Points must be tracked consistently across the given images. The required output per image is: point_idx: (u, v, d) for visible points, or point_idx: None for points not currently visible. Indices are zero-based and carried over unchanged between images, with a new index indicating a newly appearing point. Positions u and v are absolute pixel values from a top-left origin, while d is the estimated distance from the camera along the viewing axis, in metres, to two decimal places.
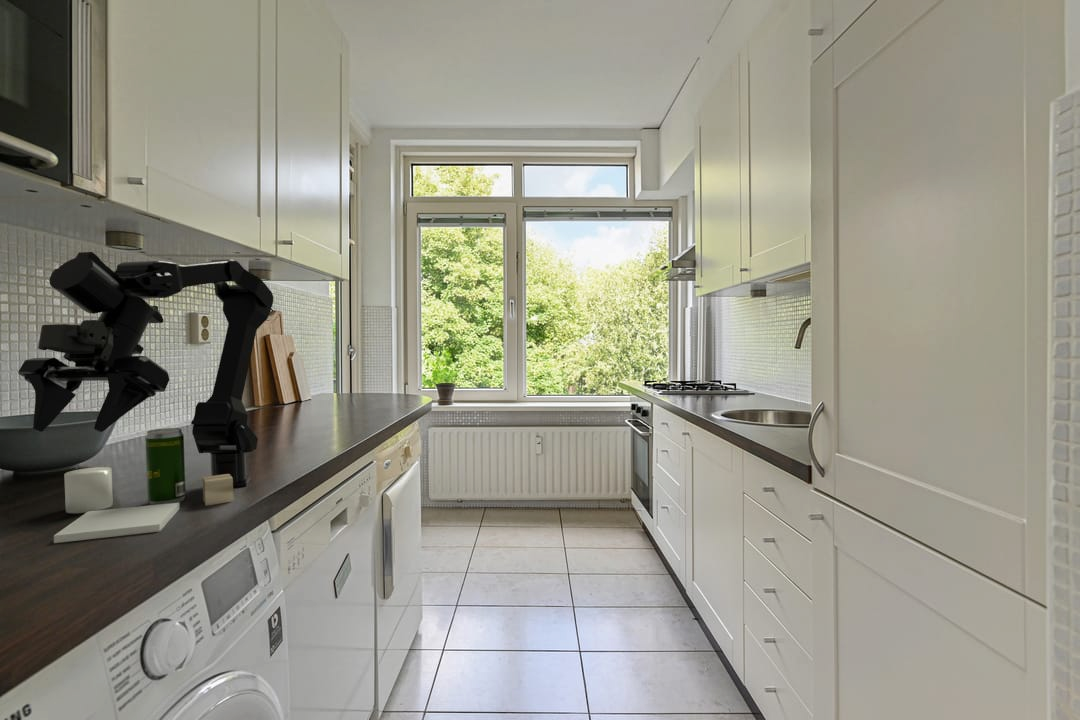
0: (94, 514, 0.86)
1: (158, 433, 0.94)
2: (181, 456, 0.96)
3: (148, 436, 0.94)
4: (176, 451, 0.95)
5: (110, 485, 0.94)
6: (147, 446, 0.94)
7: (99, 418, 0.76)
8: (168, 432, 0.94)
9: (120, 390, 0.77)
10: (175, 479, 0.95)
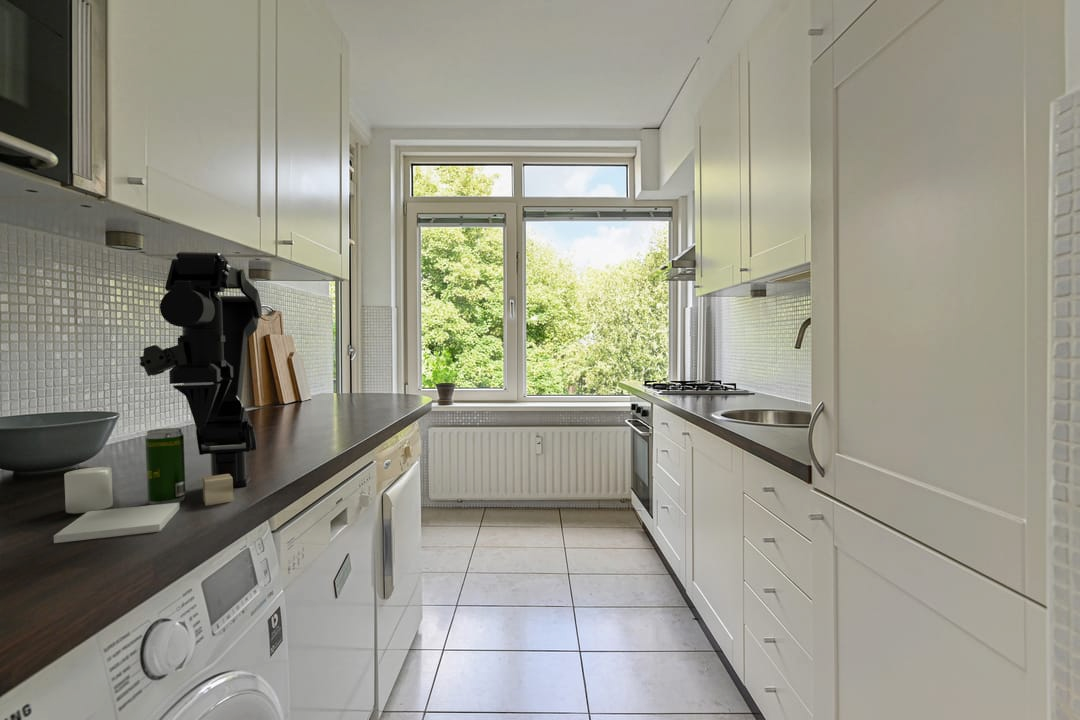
0: (94, 514, 0.86)
1: (158, 433, 0.94)
2: (181, 456, 0.96)
3: (148, 436, 0.94)
4: (176, 451, 0.95)
5: (110, 485, 0.94)
6: (147, 446, 0.94)
7: (194, 419, 0.90)
8: (168, 432, 0.94)
9: (187, 395, 0.88)
10: (175, 479, 0.95)
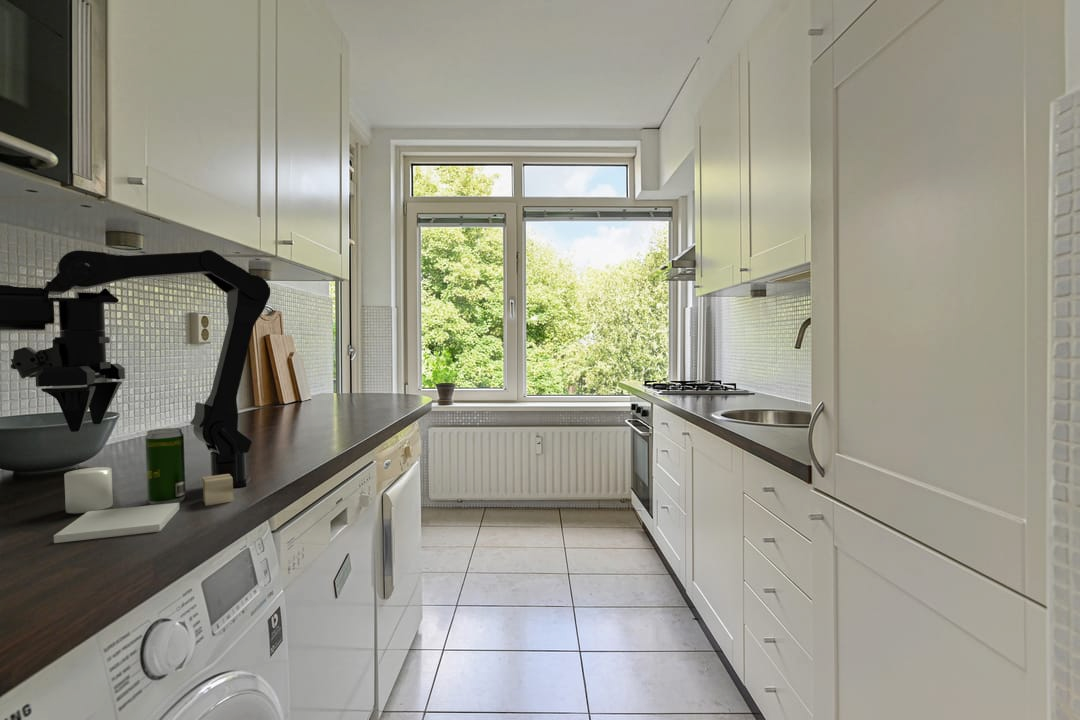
0: (94, 514, 0.86)
1: (158, 433, 0.94)
2: (181, 456, 0.96)
3: (148, 436, 0.94)
4: (176, 451, 0.95)
5: (110, 485, 0.94)
6: (147, 446, 0.94)
7: (68, 422, 0.88)
8: (168, 432, 0.94)
9: (58, 398, 0.86)
10: (175, 479, 0.95)
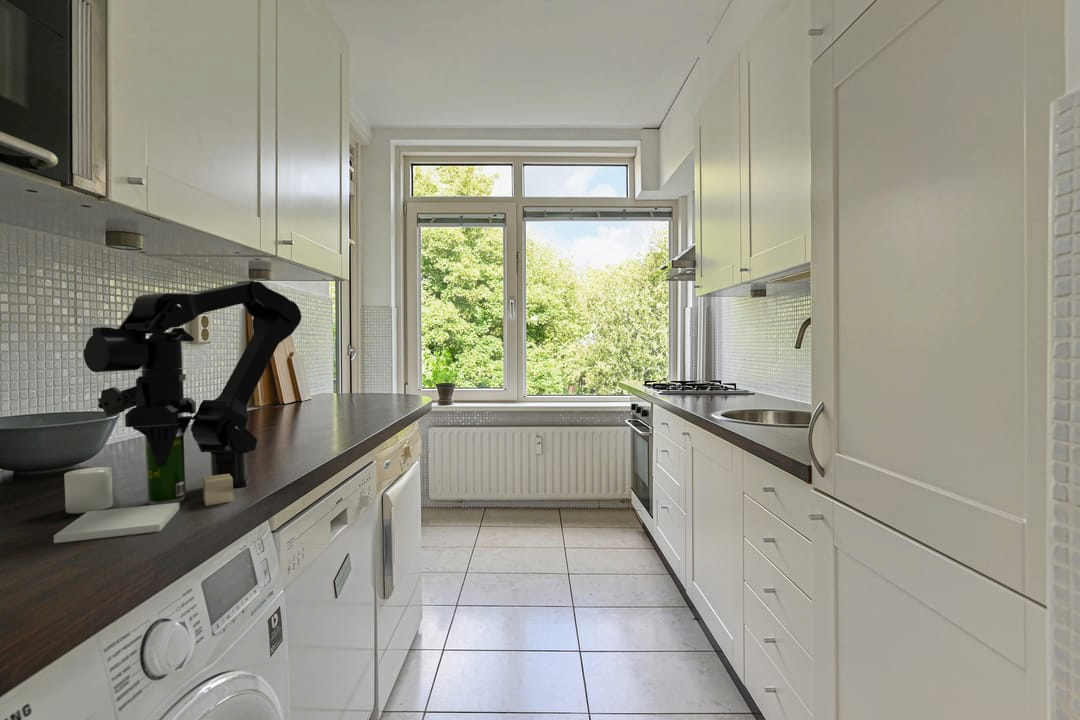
0: (94, 514, 0.86)
1: None
2: (181, 456, 0.96)
3: None
4: (176, 451, 0.95)
5: (110, 485, 0.94)
6: (147, 446, 0.94)
7: (154, 457, 0.93)
8: None
9: (147, 435, 0.91)
10: (175, 479, 0.95)
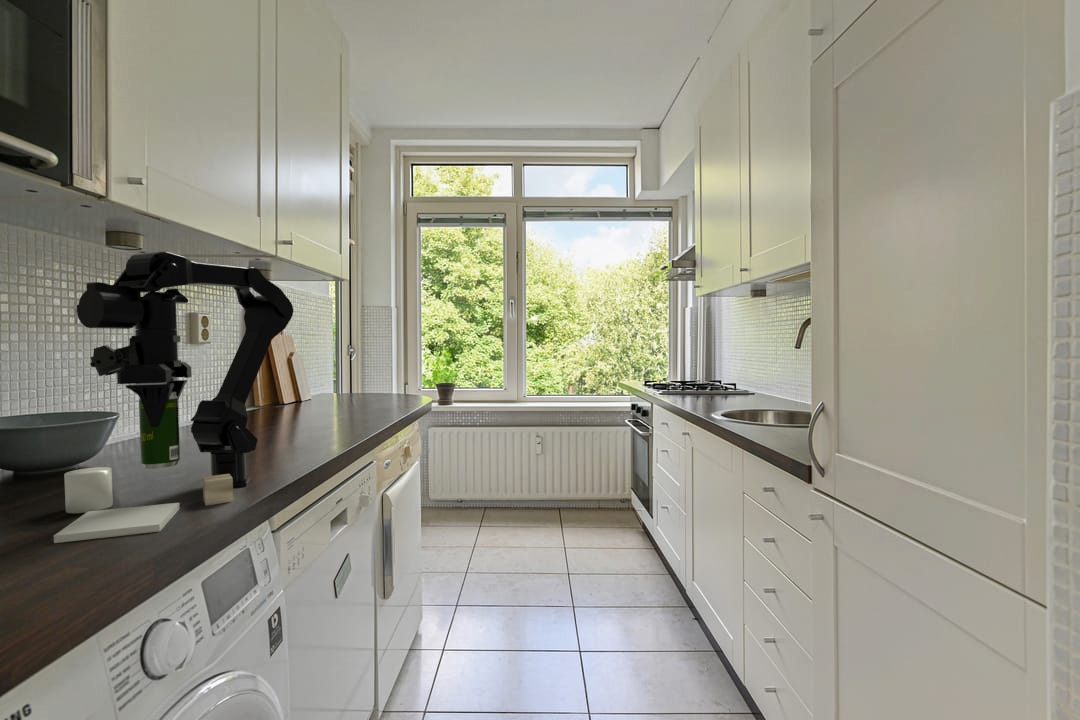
0: (94, 514, 0.86)
1: None
2: (175, 419, 0.95)
3: None
4: (170, 414, 0.94)
5: (110, 485, 0.94)
6: (140, 408, 0.92)
7: (148, 418, 0.91)
8: None
9: (140, 395, 0.90)
10: (169, 442, 0.94)
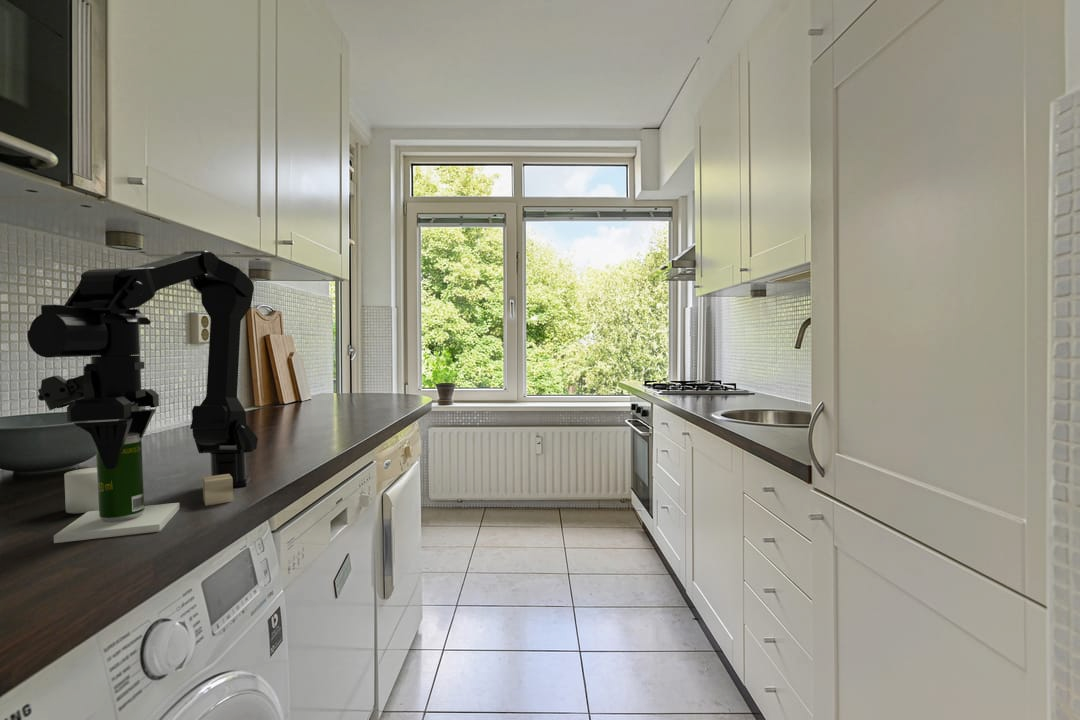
0: (94, 514, 0.86)
1: None
2: (138, 465, 0.84)
3: None
4: (132, 460, 0.83)
5: None
6: (98, 454, 0.82)
7: (102, 459, 0.79)
8: None
9: (92, 433, 0.78)
10: (132, 492, 0.83)
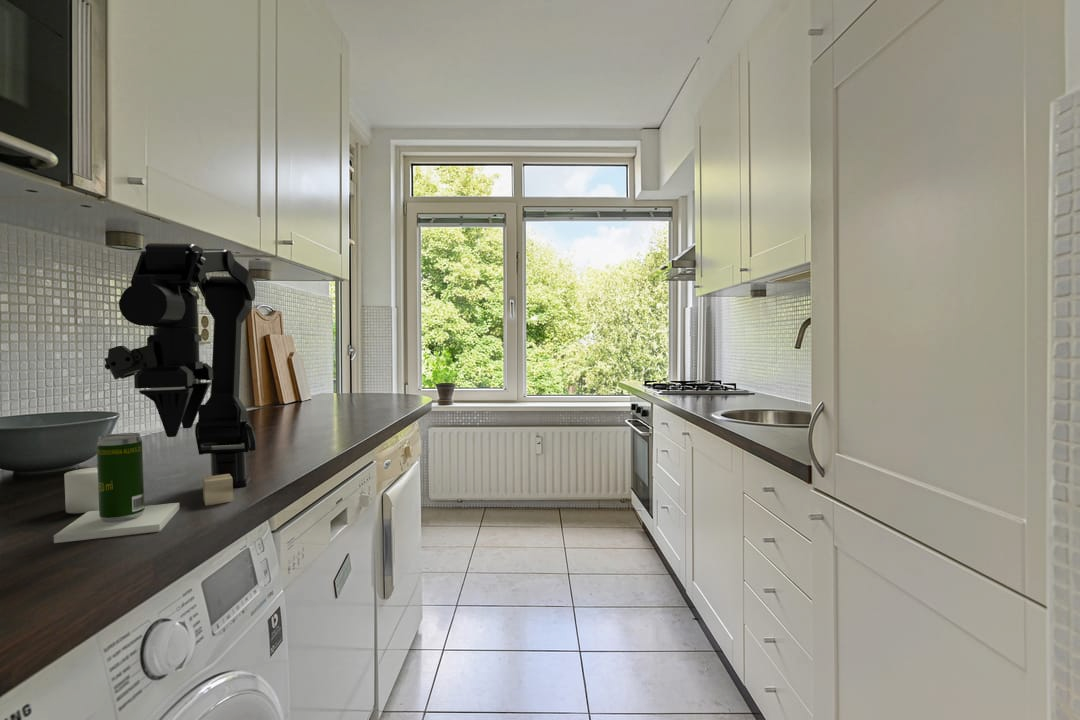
0: (94, 514, 0.86)
1: (111, 439, 0.81)
2: (139, 465, 0.84)
3: (99, 443, 0.82)
4: (133, 460, 0.83)
5: None
6: (98, 454, 0.82)
7: None
8: (123, 438, 0.82)
9: (156, 401, 0.80)
10: (132, 492, 0.83)
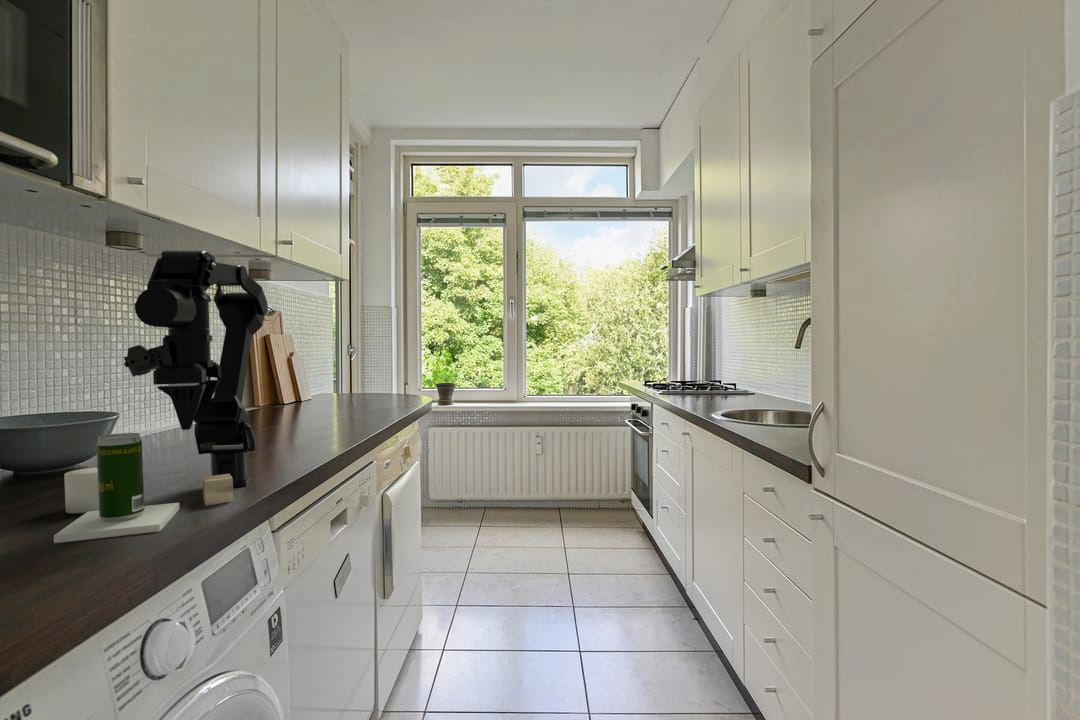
0: (94, 514, 0.86)
1: (111, 439, 0.81)
2: (139, 465, 0.84)
3: (99, 443, 0.82)
4: (133, 460, 0.83)
5: None
6: (98, 454, 0.82)
7: (179, 420, 0.88)
8: (123, 438, 0.82)
9: (172, 396, 0.86)
10: (132, 492, 0.83)
